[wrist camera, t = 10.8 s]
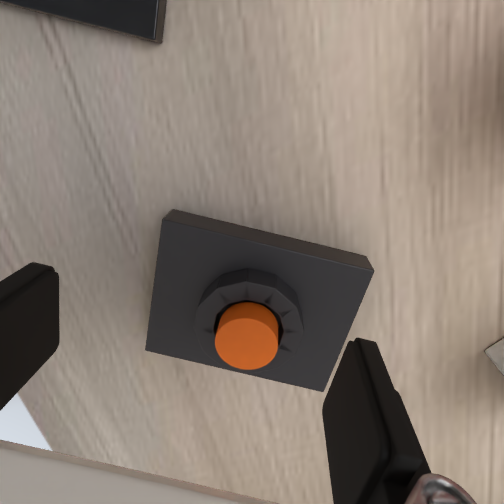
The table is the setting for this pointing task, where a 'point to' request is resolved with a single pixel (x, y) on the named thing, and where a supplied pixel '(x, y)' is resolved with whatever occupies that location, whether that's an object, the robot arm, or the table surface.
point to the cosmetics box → (497, 355)
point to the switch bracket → (106, 14)
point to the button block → (253, 295)
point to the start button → (247, 336)
